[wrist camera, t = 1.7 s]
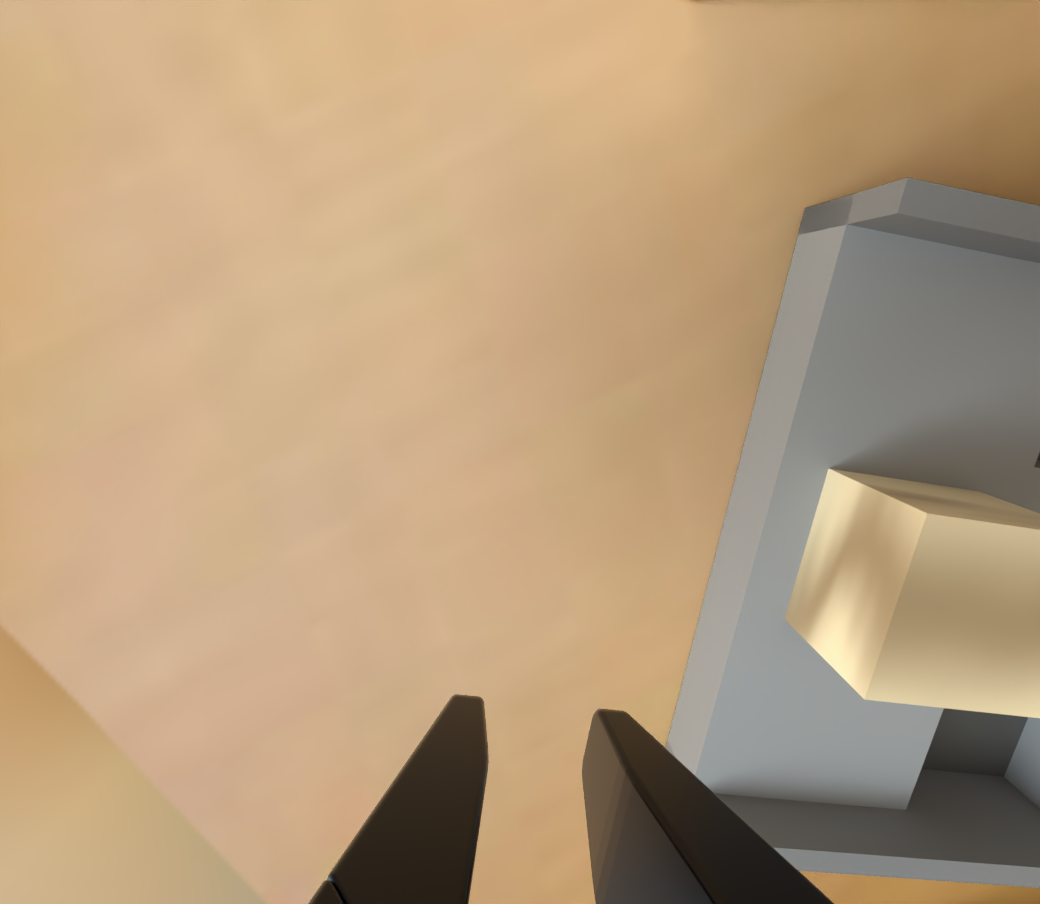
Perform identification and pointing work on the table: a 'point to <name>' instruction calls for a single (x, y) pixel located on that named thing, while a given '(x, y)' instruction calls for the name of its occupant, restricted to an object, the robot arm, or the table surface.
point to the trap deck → (887, 453)
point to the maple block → (923, 594)
